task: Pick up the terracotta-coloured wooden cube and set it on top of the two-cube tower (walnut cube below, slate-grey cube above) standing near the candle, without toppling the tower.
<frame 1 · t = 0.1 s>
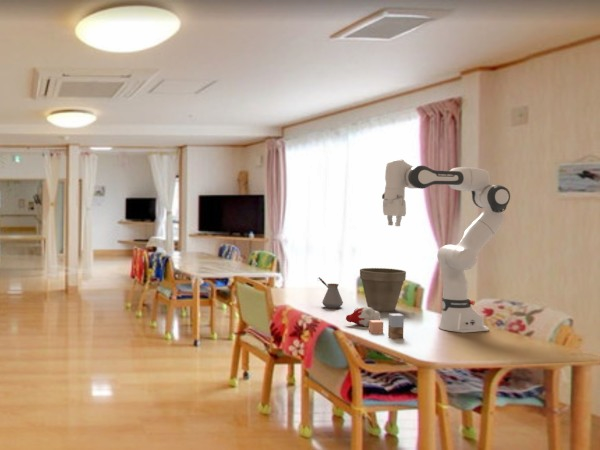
hand: (394, 225, 282), 48 cm above the table, fingers open, 8 cm apart
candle: (361, 325, 294), on the table
tower base: (395, 337, 269), on the table, touching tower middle
coffee pot: (327, 306, 347), on the table
plant pot: (382, 309, 339), on the table
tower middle: (395, 326, 269), point 5 cm above the table, touching tower base
terracotta block: (375, 332, 280), on the table
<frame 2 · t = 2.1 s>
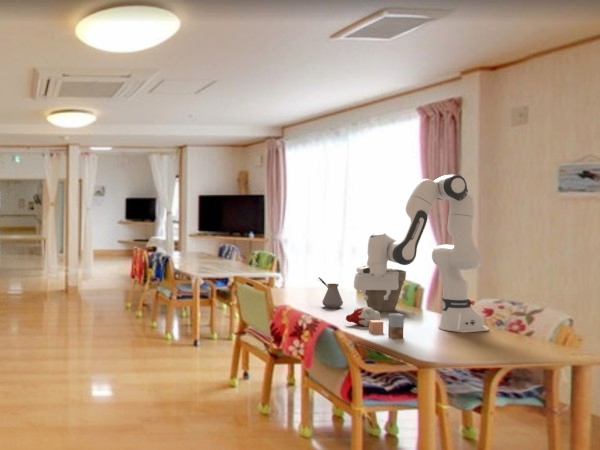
hand: (375, 299, 279), 15 cm above the table, fingers open, 8 cm apart
nothing on the table moved.
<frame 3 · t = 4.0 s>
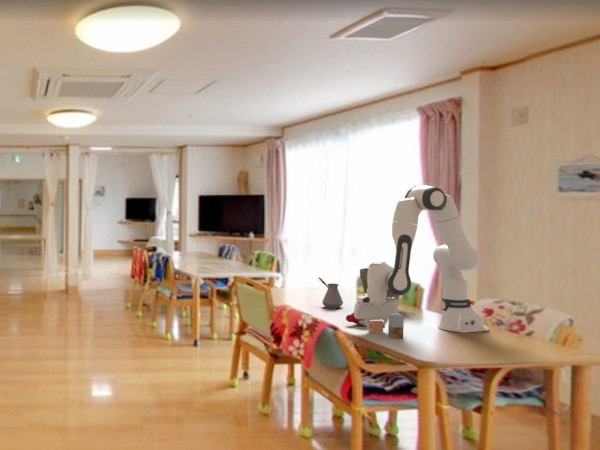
hand: (376, 328, 280), 2 cm above the table, fingers closed on terracotta block, 5 cm apart
terracotta block: (375, 331, 280), on the table, touching gripper
everything else where it was.
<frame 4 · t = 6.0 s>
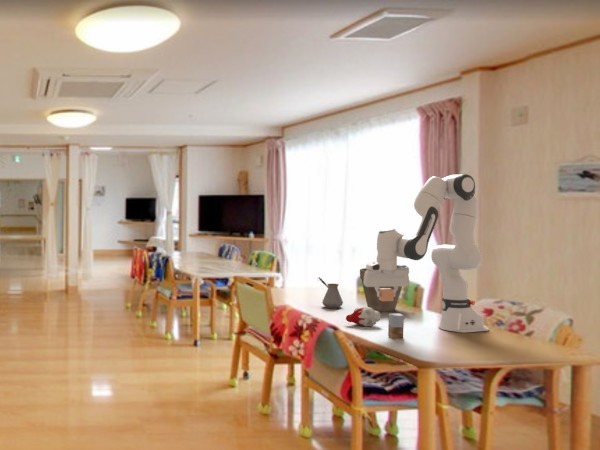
hand: (386, 296, 274), 17 cm above the table, fingers closed on terracotta block, 5 cm apart
terracotta block: (386, 300, 274), point 15 cm above the table, touching gripper
everything else where it was.
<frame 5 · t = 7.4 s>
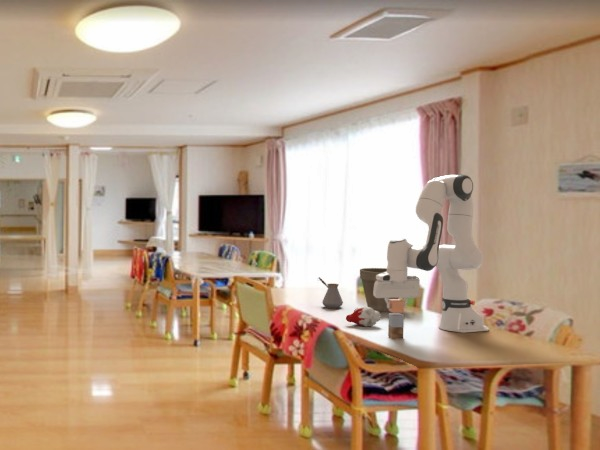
hand: (396, 307, 269), 13 cm above the table, fingers closed on terracotta block, 5 cm apart
terracotta block: (396, 311, 269), point 11 cm above the table, touching gripper
everything else where it was.
when the fingers open (13 cm above the table, at t = 8.2 s): terracotta block drops 1 cm, resting on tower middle.
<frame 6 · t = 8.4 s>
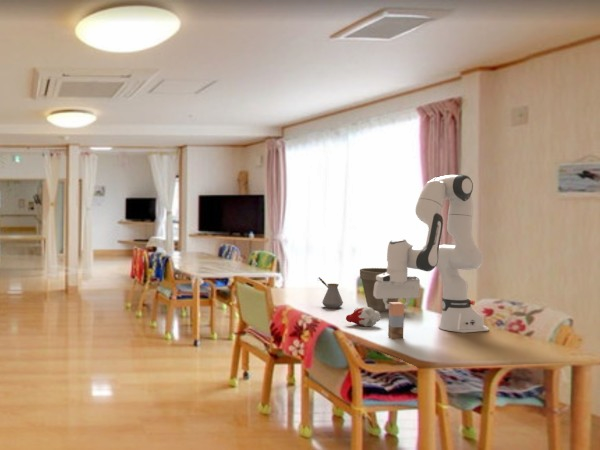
hand: (396, 308, 269), 13 cm above the table, fingers open, 7 cm apart
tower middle: (395, 326, 269), point 5 cm above the table, touching terracotta block, tower base
terracotta block: (396, 314, 269), point 10 cm above the table, touching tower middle
everything else where it was.
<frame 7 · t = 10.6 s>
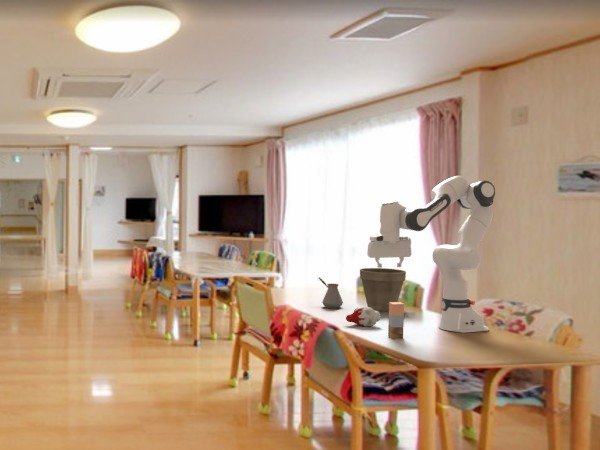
hand: (389, 267, 282), 29 cm above the table, fingers open, 8 cm apart
nothing on the table moved.
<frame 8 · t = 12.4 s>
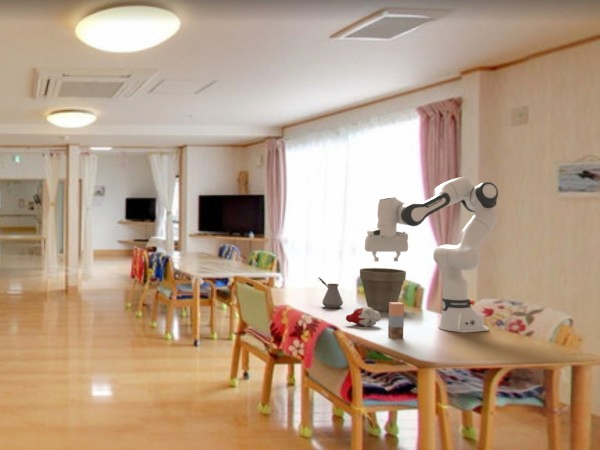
hand: (386, 261, 288), 31 cm above the table, fingers open, 8 cm apart
nothing on the table moved.
at the end: terracotta block 0.1 cm off-centre on the tower base, point 10.0 cm above the tower base's base; terracotta block tilted 0°; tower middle 0.1 cm off-centre on the tower base, point 5.0 cm above the tower base's base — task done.
